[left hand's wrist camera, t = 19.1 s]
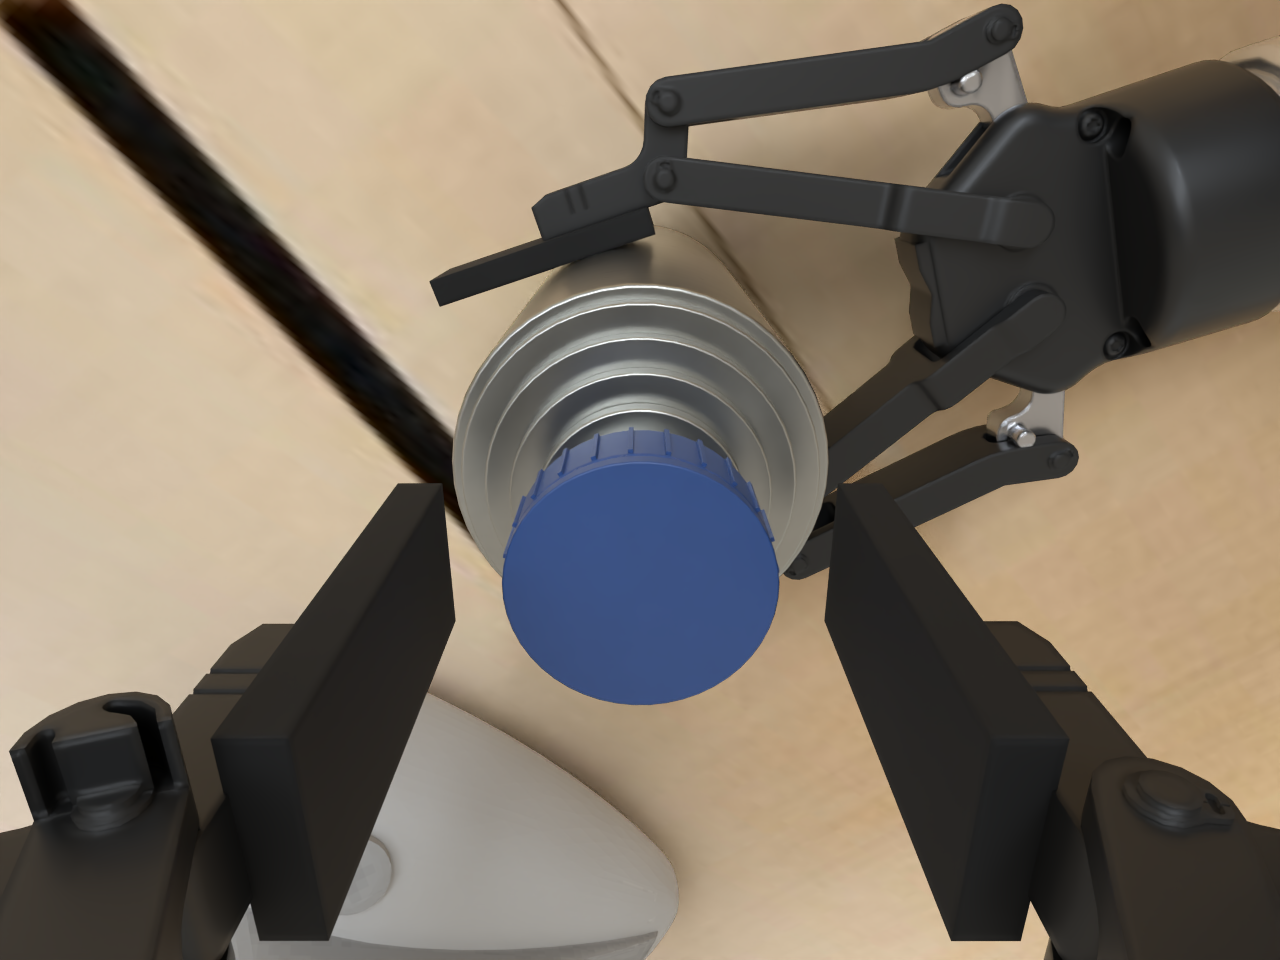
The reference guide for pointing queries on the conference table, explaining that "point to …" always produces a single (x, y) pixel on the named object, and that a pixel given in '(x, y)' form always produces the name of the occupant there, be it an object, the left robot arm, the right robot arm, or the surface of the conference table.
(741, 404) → the bottle
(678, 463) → the cap
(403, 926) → the projector
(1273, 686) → the conference table surface
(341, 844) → the left robot arm
